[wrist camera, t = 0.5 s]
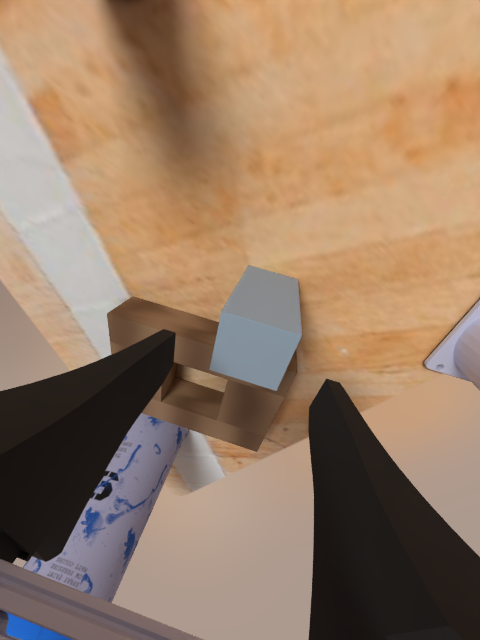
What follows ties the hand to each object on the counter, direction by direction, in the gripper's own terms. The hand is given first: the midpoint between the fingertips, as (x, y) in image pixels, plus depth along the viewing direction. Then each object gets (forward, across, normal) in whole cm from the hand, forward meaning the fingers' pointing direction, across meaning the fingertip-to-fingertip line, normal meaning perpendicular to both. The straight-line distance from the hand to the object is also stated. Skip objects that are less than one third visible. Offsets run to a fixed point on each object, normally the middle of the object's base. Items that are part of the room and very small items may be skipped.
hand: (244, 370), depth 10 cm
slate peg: (+9, 0, 0) cm, 9 cm away
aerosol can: (+10, +8, +22) cm, 26 cm away
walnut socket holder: (+9, +4, +10) cm, 14 cm away
